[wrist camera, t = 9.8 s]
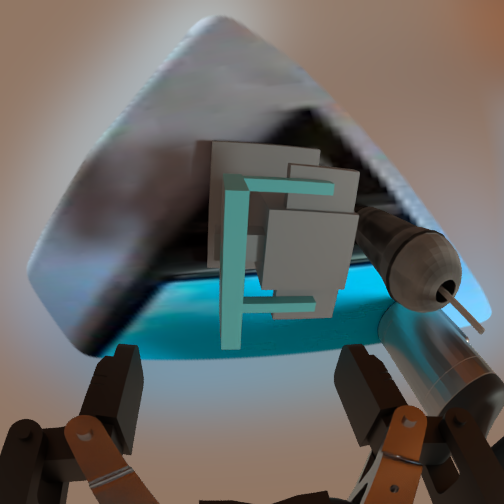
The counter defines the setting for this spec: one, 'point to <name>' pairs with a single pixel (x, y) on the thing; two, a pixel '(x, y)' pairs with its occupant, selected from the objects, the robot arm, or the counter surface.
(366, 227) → the beverage cup
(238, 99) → the counter surface
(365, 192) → the counter surface
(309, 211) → the stand
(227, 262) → the teal c-shaped bracket
